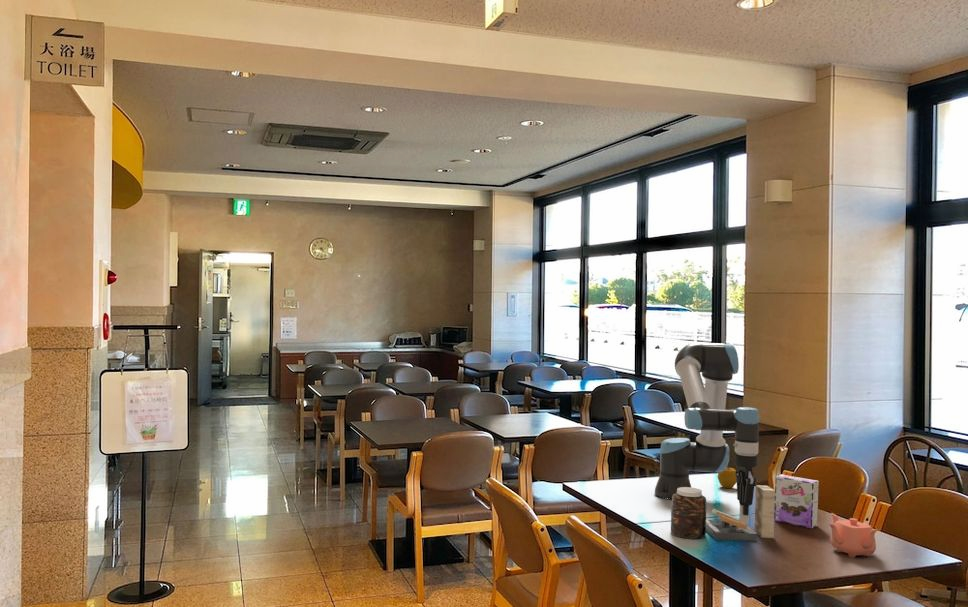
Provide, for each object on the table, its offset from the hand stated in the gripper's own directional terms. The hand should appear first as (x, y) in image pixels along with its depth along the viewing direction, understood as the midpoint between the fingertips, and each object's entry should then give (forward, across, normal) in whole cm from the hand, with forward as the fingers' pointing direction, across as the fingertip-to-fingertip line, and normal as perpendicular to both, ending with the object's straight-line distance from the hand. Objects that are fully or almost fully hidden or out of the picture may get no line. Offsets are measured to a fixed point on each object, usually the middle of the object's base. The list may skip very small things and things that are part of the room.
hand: (744, 523), depth 259 cm
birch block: (+5, -4, +8) cm, 10 cm away
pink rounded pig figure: (+5, +14, +29) cm, 32 cm away
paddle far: (-1, -7, -4) cm, 8 cm away
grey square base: (+4, -4, -4) cm, 7 cm away
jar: (+5, -2, -18) cm, 19 cm away
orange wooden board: (0, 0, -4) cm, 4 cm away
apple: (+5, -74, +19) cm, 76 cm away
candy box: (+5, -20, +26) cm, 33 cm away
